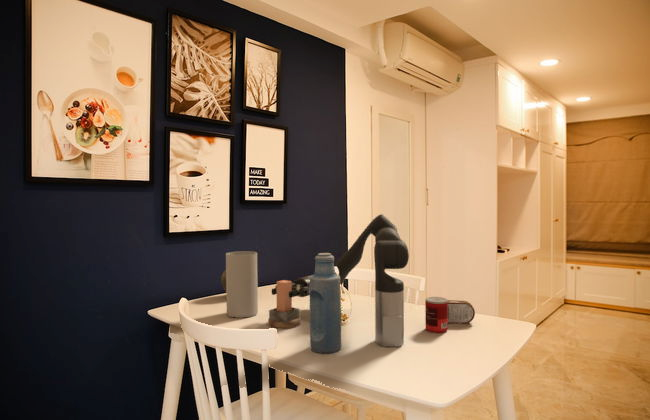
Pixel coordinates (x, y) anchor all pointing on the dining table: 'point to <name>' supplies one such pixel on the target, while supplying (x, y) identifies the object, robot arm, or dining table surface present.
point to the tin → (460, 312)
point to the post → (284, 296)
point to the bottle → (325, 306)
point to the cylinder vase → (241, 284)
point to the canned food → (436, 314)
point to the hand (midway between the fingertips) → (280, 293)
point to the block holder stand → (284, 318)
